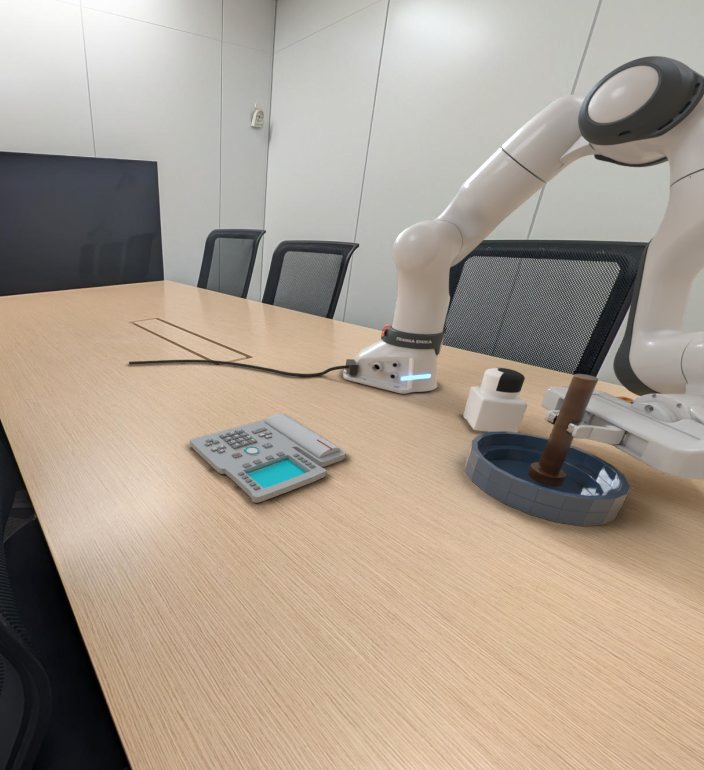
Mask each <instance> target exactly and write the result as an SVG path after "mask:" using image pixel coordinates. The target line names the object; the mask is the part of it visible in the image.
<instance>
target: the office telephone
mask: <svg viewBox="0 0 704 770" xmlns="http://www.w3.org/2000/svg"><path fill="white" fill-rule="evenodd" d="M189 446H190V447H191V448H192V449H193V450H194V451H195V453H197V454H198V455H199V456H200V457H201V458H202V459H203V460H204V461H205V462H206V463H208V465H209V466H211V468H212V469H214V470H215V471H216V472H217V473H218V474H221V475H226V476H227V477H228V478H229V479H230V480H232V481H233V483H235V484H236V485H237V486H238V487H239V488H240V489H241V490H242V491H243V492H245V494H247V496H248V497H249V498H250V499H251V502H253V503H255V504H257V503H263V502H265V501H267V500H270V499H272V498H275V497H277V496H280V495H283V494H286V493H288V492H291V491H293V490H296V489H298V488H301V487H303V486H307V485H309V484H312V483H314V482H317V481H319V480H321V479H323V478H325V477H326V475H327V474H326V473H327V470H326V468H325V467H328V466H331V465H333V464H337V463H338V462H341V461H343V460H345V458H346V452H345V450H344V449H341V448H340V447H339V446H337V445H336V444H334V443H332V442H331V441H330V440H328V439H327V438H324V437H323V436H322V435H320V434H319V433H317V432H315V431H313V430H312V429H310V428H309V427H308V426H305V425H304V424H303V423H301V422H299V421H298V420H296V419H294V418H293V417H290V416H289V415H288V414H287V413H283V414H282V413H274V414H271V415H269V416H267V418H264V419H260V420H256V421H253V422H249V423H246V424H243V425H242V424H241V425H239V426H235V427H231V428H228V429H225V430H220V431H217V432H214V433H210V434H205V435H201V436H198V437H194V438H190V439H189Z"/></svg>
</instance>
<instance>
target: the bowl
mask: <svg viewBox="0 0 704 770" xmlns="http://www.w3.org/2000/svg"><path fill="white" fill-rule="evenodd" d="M548 439H549V437H545V436H541V435H540V436H539V435H537V434H531V433H526V432H519V431H518V432H508V431H498V432H488V431H486V432H483V433H480V434H477V435H476V436H475V437H474V438H473V439H472V440H471V442H470V445H469V447H468V448H469V449H468V452H467V455H466V457H465V462H464V471H465V474H466V475H467V476H468V478H469V479H470V481H471V482H472V483H473V484H475V486H477V487H478V488H479V489H481V490H482V491H483V492H484V493H485V494H487V495H489V497H492V498H493V499H495V500H497V501H499V502H500V503H502V504H504V505H506V506H509V507H511V508H513V509H515V510H517V511H519V512H523V513H525V514H527V515H530V516H534V517H537V518H541V519H543V520H547V521H550V522H554V523H559V524H565V525H573V526H579V527H589V526H603V525H606V524H608V523H610V522H612V521H614V520H615V519H616V517H617V516H618V514H619V512H620V510H621V508H622V506H623V504H624V502H625V500H626V499H627V496H629V492H630V490H631V487H632V485H631V484H630V481H629V480H628V478H627V477H626V475H625V473H623V472H622V471H620V470H619V469H618V468H617V467H615V466H614V465H613V464H612V463H610V462H608V461H607V460H604V459H603V458H601V457H599V456H597V455H596V454H593V453H591V452H589V451H587V450H585V449H582V448H579V447H578V446H575V445H572V444H571V446H570V448H569V451H568V453H567V456H566V458H565V460H564V463H563V465H562V467H561V470H563V471H564V472H565V473H566V478H565V480H564V482H563V485H562V486H559V487H553V486H547V485H544V484H541V483H538V482H536V481H534V480H533V479H531V478H530V477H529V476H528V471H529V468H530V466H531V464H532V463H535V462H540V460H541V457H542V455H543V452H544V449H545V447H546V444H547V442H548Z"/></svg>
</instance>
